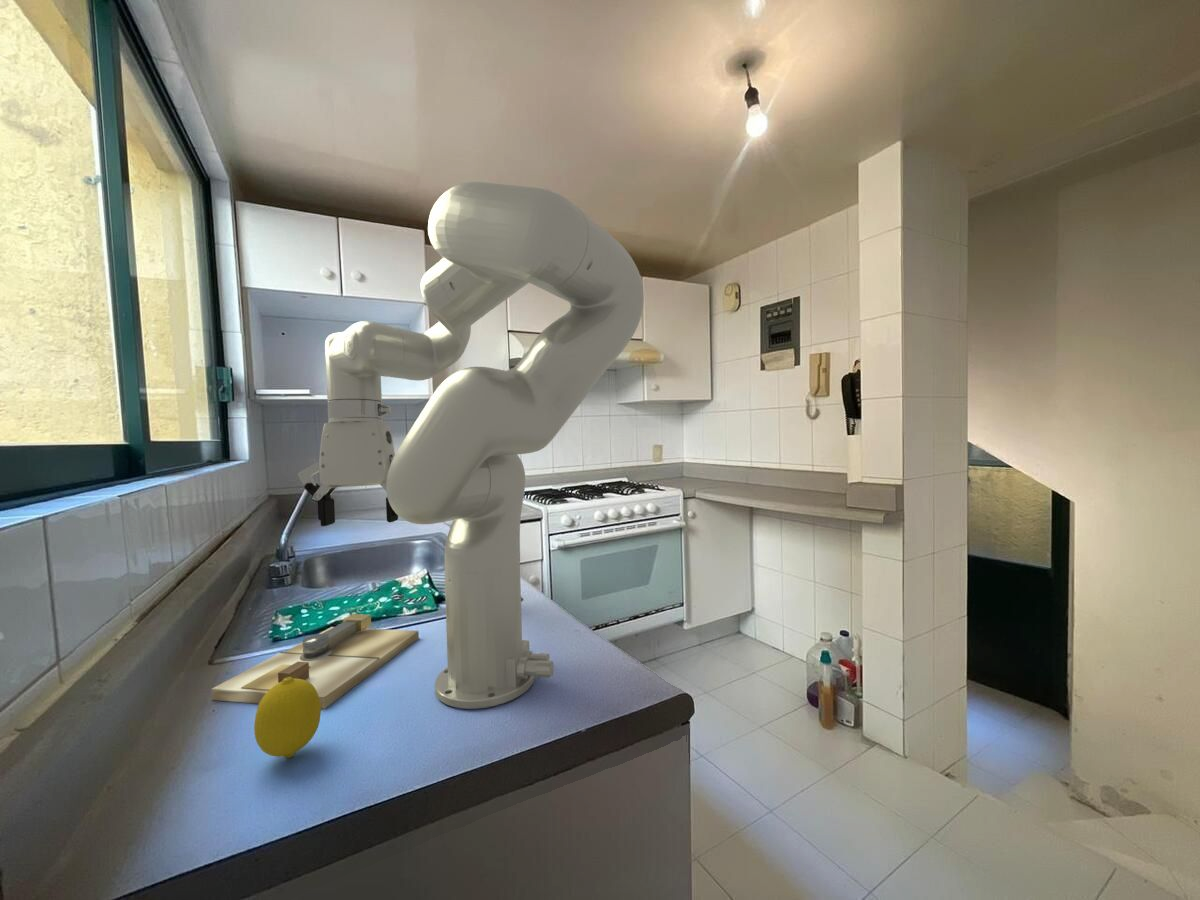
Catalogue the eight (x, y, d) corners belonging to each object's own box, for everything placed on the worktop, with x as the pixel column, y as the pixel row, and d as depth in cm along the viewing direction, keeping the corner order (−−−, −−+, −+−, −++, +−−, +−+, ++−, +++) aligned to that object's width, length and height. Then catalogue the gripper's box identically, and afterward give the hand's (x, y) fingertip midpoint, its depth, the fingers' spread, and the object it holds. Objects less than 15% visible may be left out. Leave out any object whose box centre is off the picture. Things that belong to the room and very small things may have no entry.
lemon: (289, 780, 43) (286, 695, 42) (240, 773, 44) (238, 690, 44) (334, 742, 48) (332, 666, 48) (290, 736, 49) (288, 663, 49)
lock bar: (317, 657, 64) (316, 643, 64) (297, 656, 64) (296, 642, 64) (371, 625, 75) (370, 613, 75) (353, 624, 76) (353, 612, 76)
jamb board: (418, 638, 74) (418, 617, 74) (324, 708, 54) (323, 680, 54) (331, 633, 77) (331, 613, 77) (212, 699, 57) (211, 672, 57)
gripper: (419, 414, 76) (424, 516, 76) (309, 417, 74) (314, 522, 74) (405, 409, 68) (410, 523, 68) (282, 413, 66) (288, 530, 66)
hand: (360, 522), depth 71 cm, fingers open, 9 cm apart
